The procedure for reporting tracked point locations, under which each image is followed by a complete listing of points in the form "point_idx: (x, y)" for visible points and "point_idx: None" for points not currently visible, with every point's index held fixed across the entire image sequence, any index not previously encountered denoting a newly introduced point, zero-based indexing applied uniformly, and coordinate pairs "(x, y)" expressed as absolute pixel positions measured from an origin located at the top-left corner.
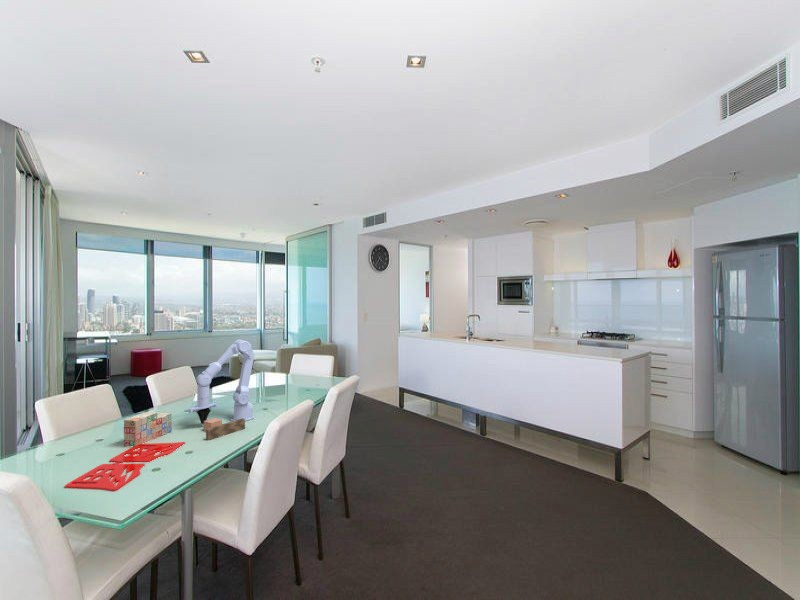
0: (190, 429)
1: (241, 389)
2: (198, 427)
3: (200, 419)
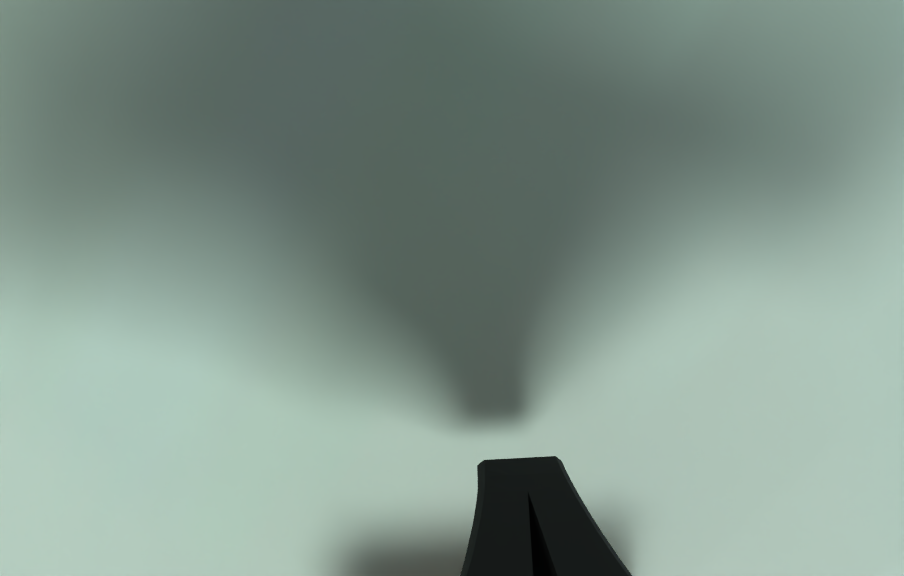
0: (194, 355)
1: None
2: (418, 363)
3: (475, 558)
